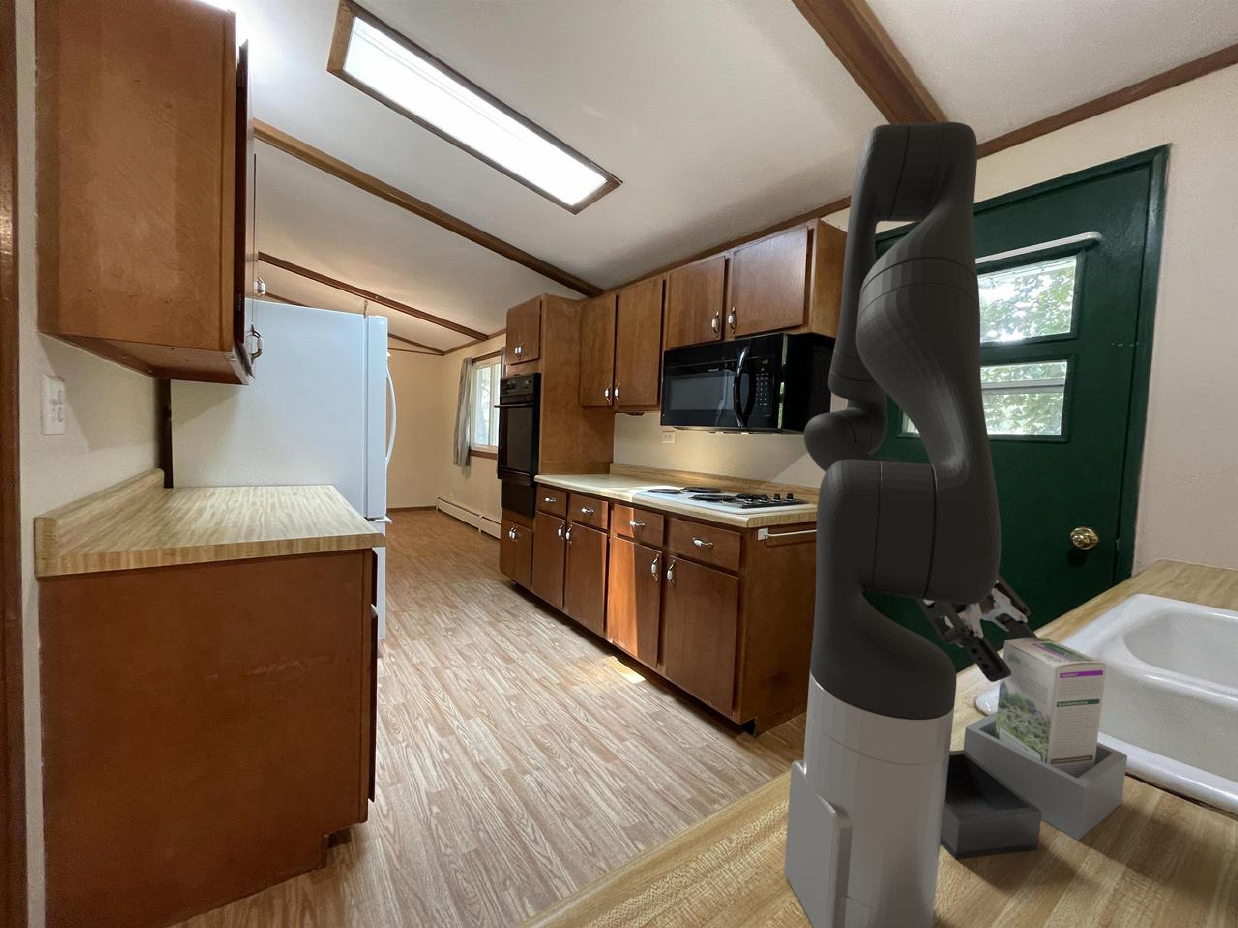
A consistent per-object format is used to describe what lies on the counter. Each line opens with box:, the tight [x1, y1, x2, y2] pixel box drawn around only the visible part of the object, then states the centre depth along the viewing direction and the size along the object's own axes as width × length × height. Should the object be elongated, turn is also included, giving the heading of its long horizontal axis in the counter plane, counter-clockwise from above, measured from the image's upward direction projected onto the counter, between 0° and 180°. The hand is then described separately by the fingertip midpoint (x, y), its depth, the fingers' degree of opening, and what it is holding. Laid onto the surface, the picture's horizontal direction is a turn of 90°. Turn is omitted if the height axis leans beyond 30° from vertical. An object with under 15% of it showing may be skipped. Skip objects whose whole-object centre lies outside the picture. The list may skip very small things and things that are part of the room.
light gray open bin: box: [962, 711, 1128, 841], centre depth 51 cm, size 10×10×5 cm
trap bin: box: [940, 749, 1042, 860], centre depth 46 cm, size 8×8×4 cm
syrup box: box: [995, 637, 1107, 779], centre depth 50 cm, size 6×6×14 cm
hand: (1022, 669), depth 52 cm, fingers open, 8 cm apart
